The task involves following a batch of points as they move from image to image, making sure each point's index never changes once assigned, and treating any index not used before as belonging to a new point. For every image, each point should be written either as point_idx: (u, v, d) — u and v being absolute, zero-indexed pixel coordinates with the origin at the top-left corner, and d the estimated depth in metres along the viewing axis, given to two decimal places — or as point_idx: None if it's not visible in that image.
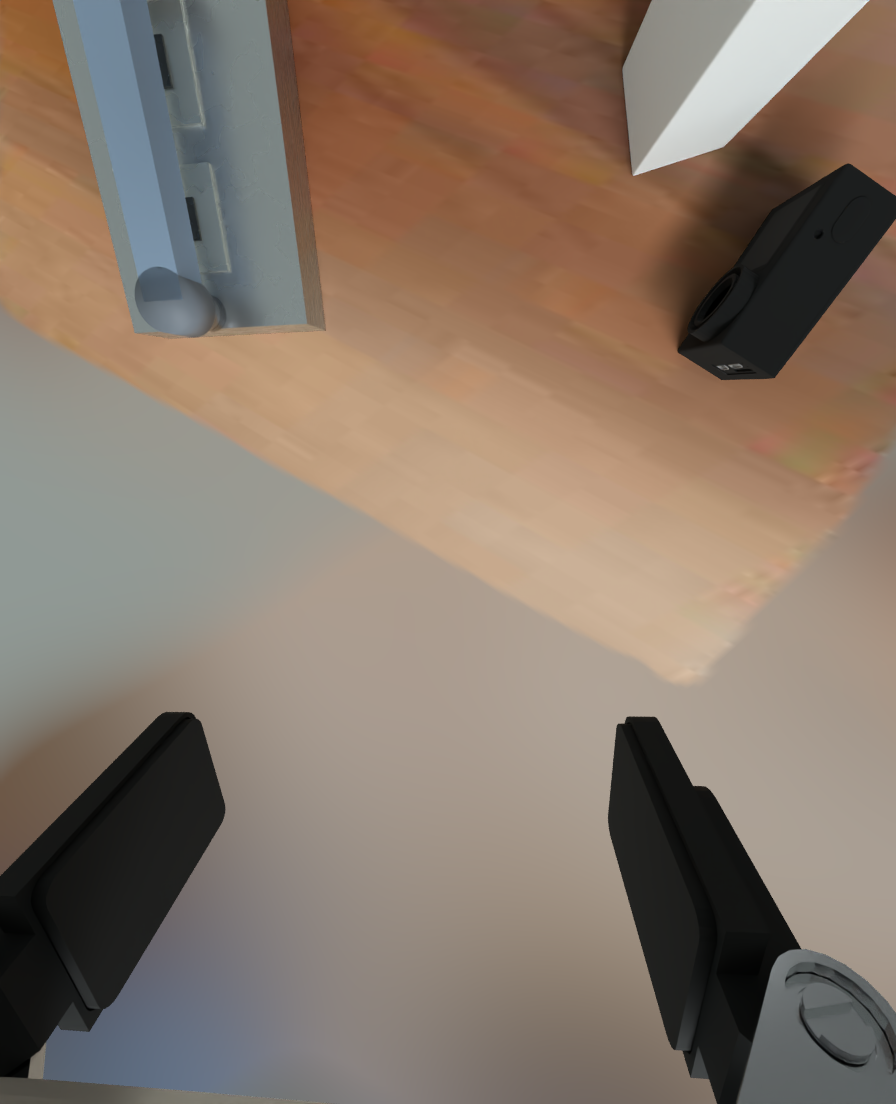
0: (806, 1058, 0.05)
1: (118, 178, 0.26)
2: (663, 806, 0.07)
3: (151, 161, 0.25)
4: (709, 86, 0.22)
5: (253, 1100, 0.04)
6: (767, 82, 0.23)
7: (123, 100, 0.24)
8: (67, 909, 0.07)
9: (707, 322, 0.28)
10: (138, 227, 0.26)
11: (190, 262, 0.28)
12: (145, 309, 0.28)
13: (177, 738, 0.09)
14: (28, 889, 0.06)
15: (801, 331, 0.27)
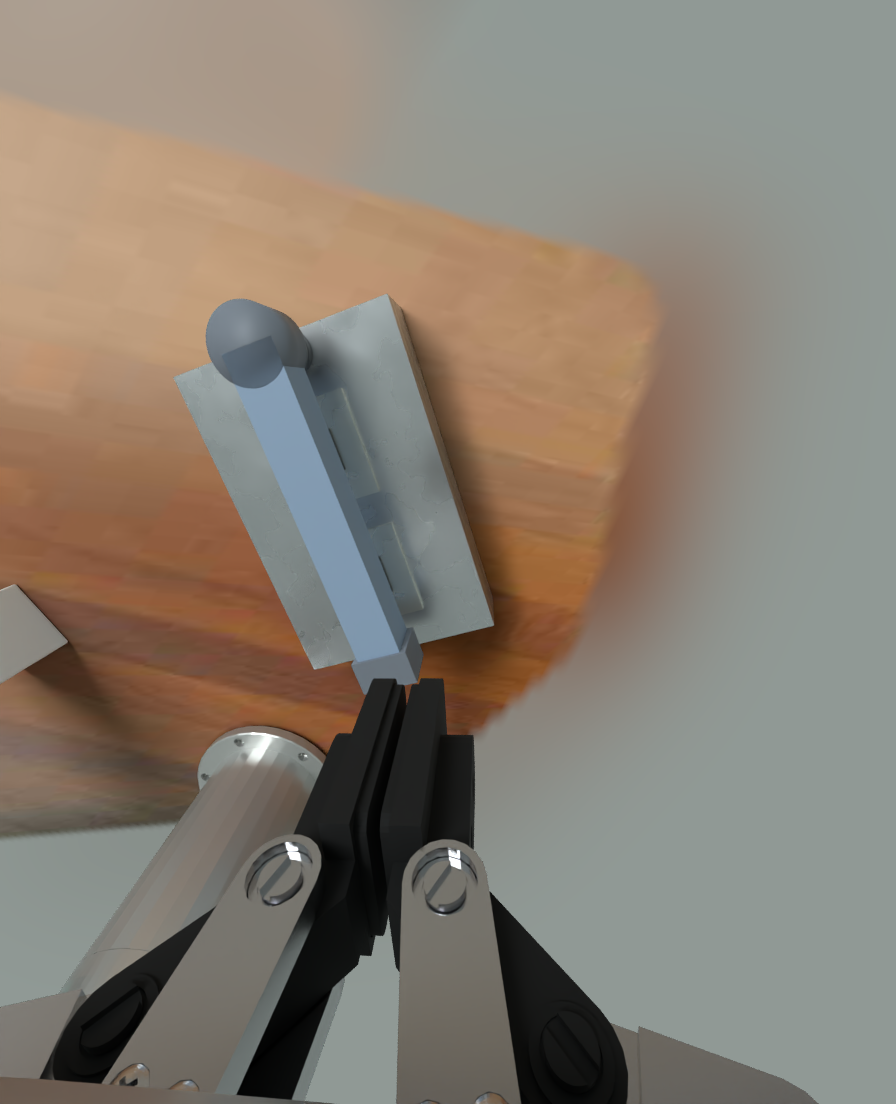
0: (432, 931, 0.06)
1: (322, 472, 0.22)
2: (404, 743, 0.09)
3: (286, 498, 0.22)
4: None
5: (253, 1098, 0.04)
6: None
7: (325, 543, 0.23)
8: (371, 841, 0.08)
9: None
10: (291, 426, 0.21)
11: None
12: (267, 325, 0.19)
13: (397, 700, 0.10)
14: (351, 820, 0.07)
15: None
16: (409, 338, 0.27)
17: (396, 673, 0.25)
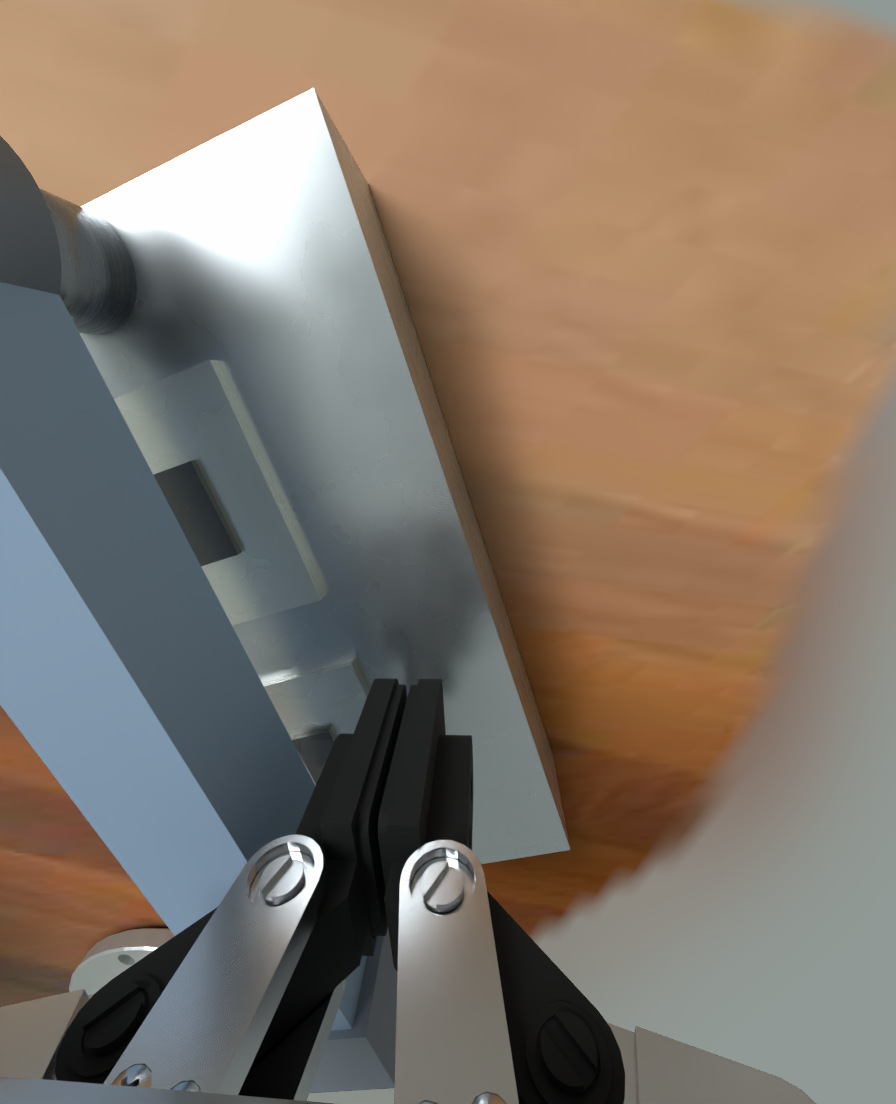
0: (430, 932, 0.06)
1: (88, 623, 0.07)
2: (402, 744, 0.09)
3: None
4: None
5: (254, 1098, 0.04)
6: None
7: (130, 804, 0.08)
8: (373, 841, 0.08)
9: None
10: None
11: None
12: None
13: (398, 700, 0.10)
14: (353, 820, 0.07)
15: None
16: (387, 251, 0.12)
17: (344, 1069, 0.10)
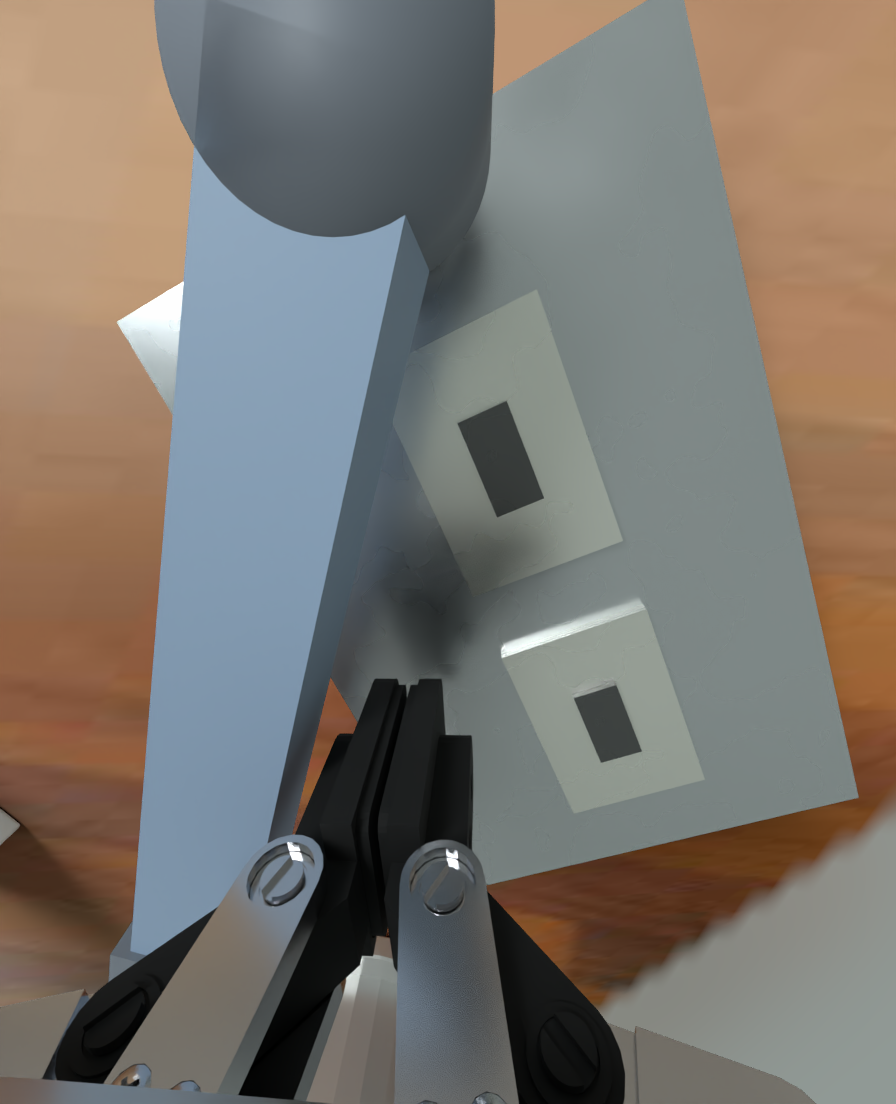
0: (430, 932, 0.06)
1: (312, 581, 0.07)
2: (403, 744, 0.09)
3: (166, 576, 0.07)
4: None
5: (254, 1098, 0.04)
6: None
7: (205, 728, 0.08)
8: (373, 841, 0.08)
9: None
10: (305, 413, 0.06)
11: None
12: (450, 24, 0.05)
13: (398, 700, 0.10)
14: (353, 820, 0.07)
15: None
16: None
17: None
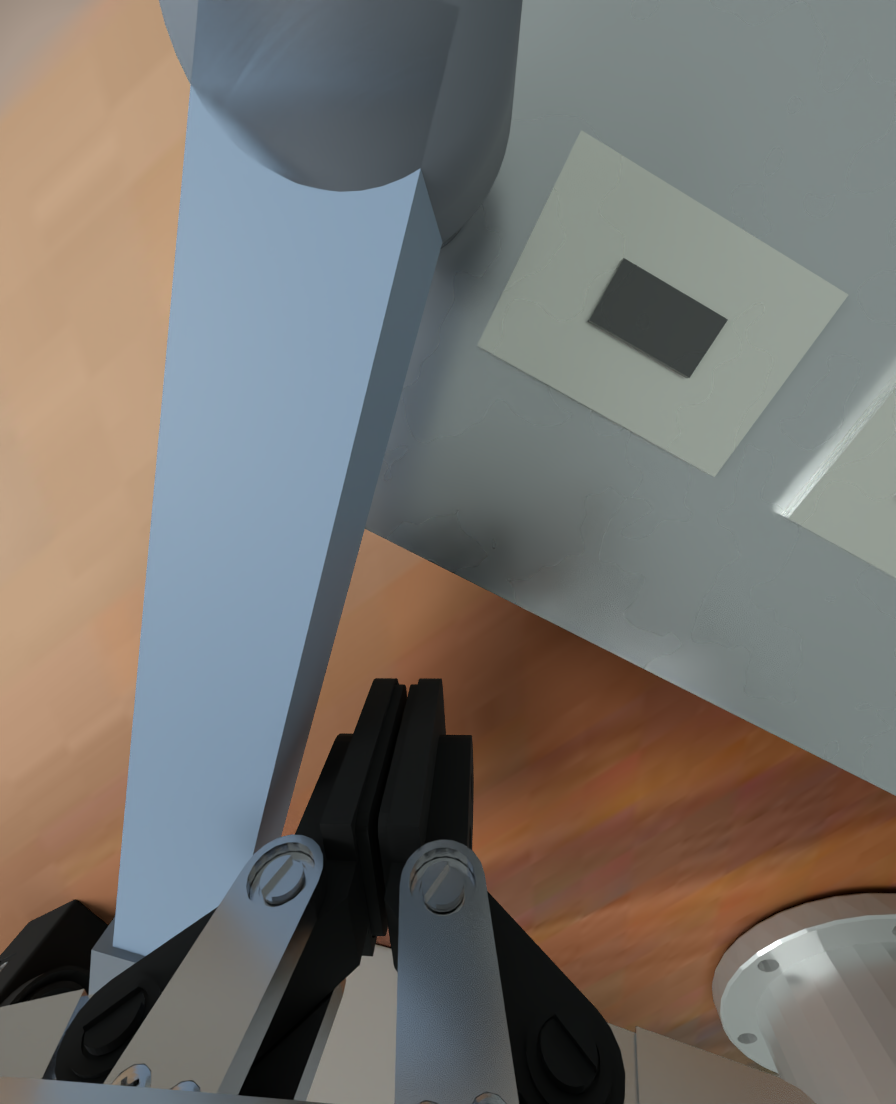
0: (430, 932, 0.06)
1: (310, 568, 0.06)
2: (403, 744, 0.09)
3: (155, 558, 0.07)
4: None
5: (253, 1100, 0.04)
6: None
7: (193, 719, 0.08)
8: (373, 841, 0.08)
9: None
10: (305, 386, 0.06)
11: None
12: None
13: (398, 700, 0.10)
14: (353, 820, 0.07)
15: None
16: None
17: None
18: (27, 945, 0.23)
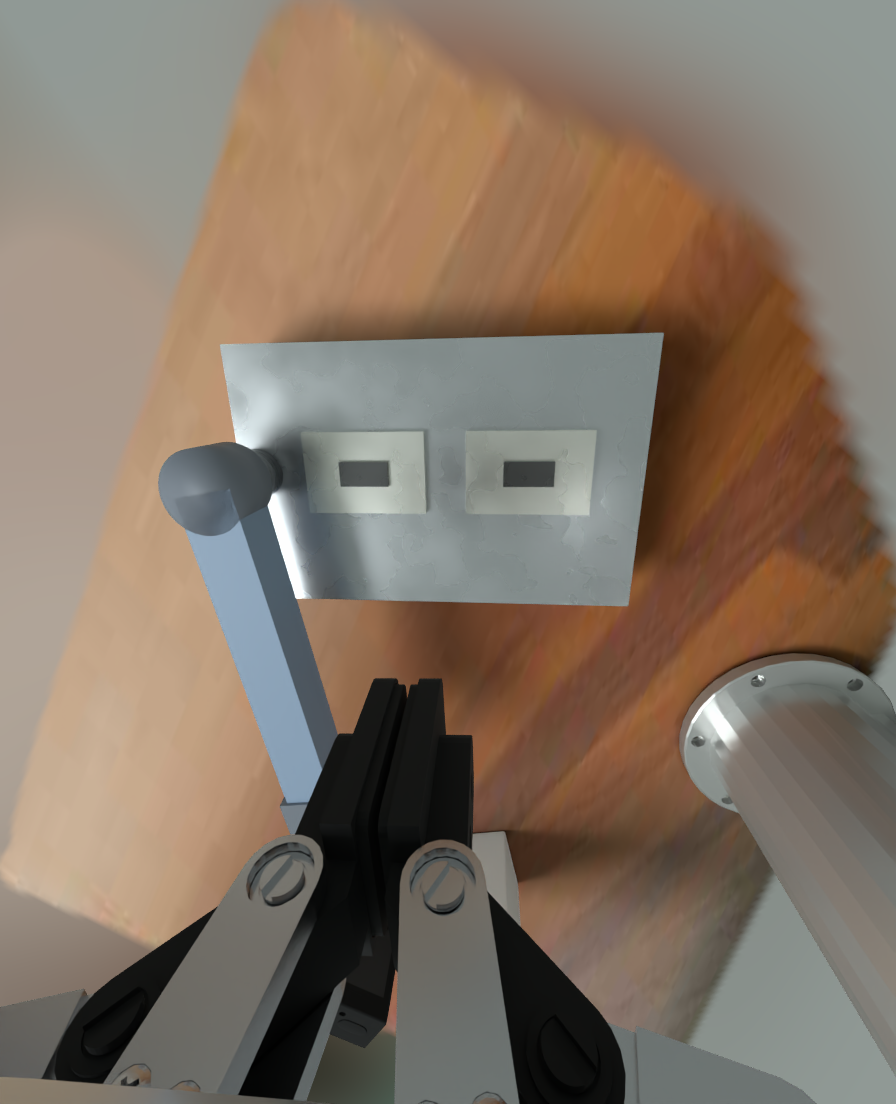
0: (431, 932, 0.06)
1: (270, 625, 0.20)
2: (403, 744, 0.09)
3: (229, 643, 0.21)
4: None
5: (253, 1100, 0.04)
6: None
7: (265, 690, 0.21)
8: (373, 841, 0.08)
9: None
10: (242, 578, 0.19)
11: None
12: (227, 478, 0.18)
13: (398, 700, 0.10)
14: (352, 820, 0.07)
15: None
16: None
17: None
18: None
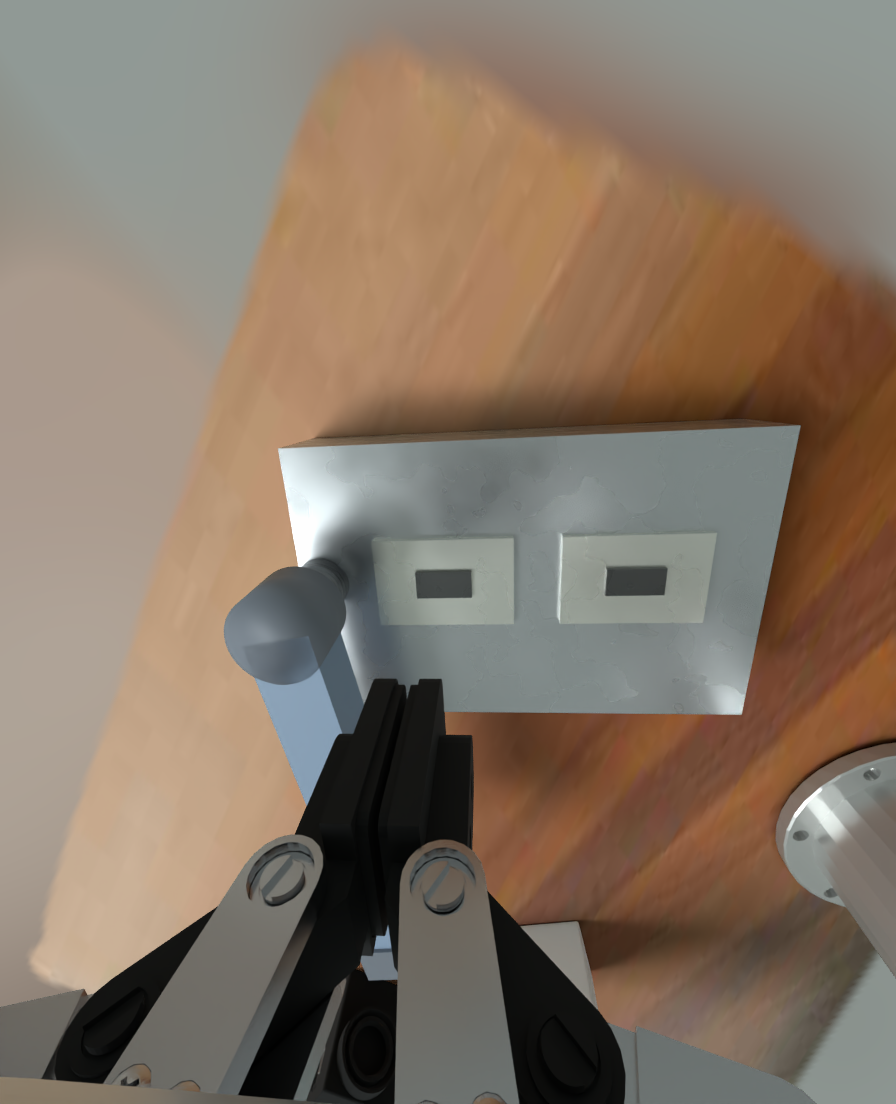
0: (430, 932, 0.06)
1: None
2: (403, 743, 0.09)
3: (303, 792, 0.18)
4: None
5: (253, 1100, 0.04)
6: None
7: None
8: (373, 841, 0.08)
9: (344, 1067, 0.31)
10: (320, 727, 0.17)
11: None
12: (305, 625, 0.15)
13: (398, 700, 0.10)
14: (352, 820, 0.07)
15: None
16: (346, 437, 0.21)
17: None
18: None
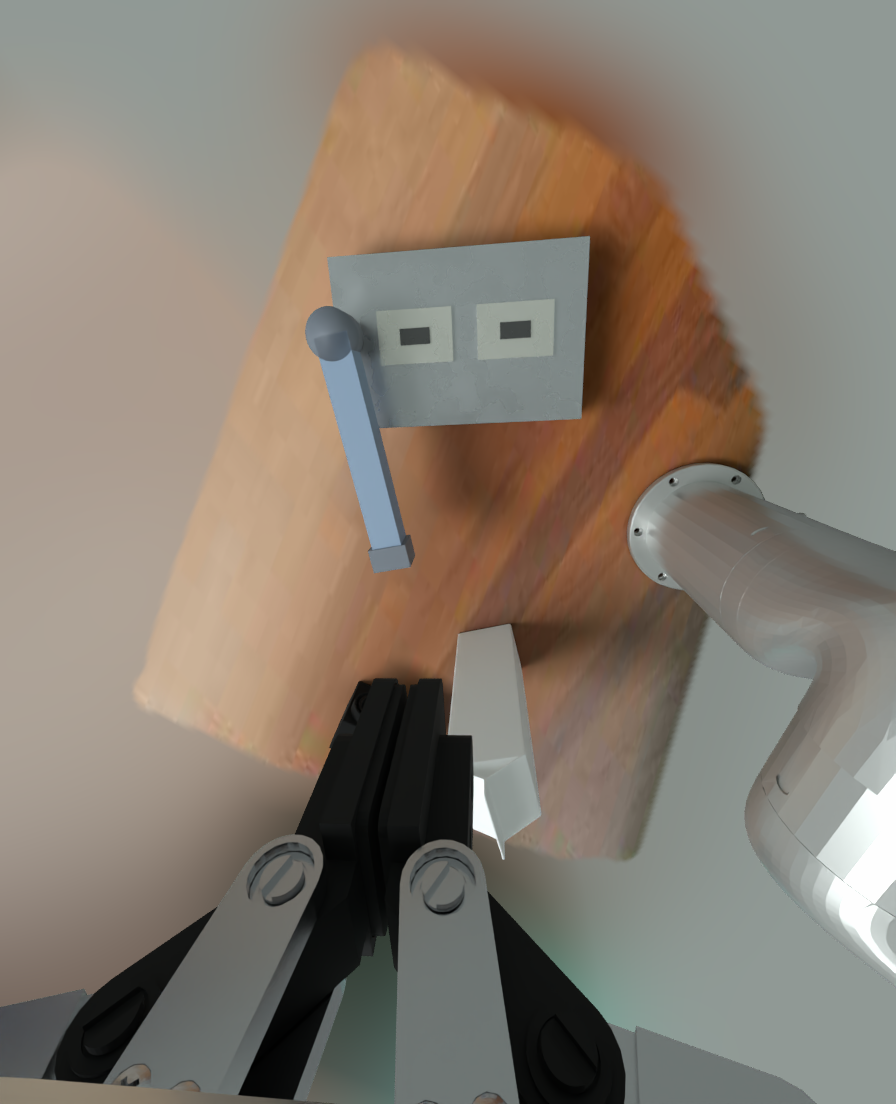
0: (431, 932, 0.06)
1: (366, 419, 0.34)
2: (403, 743, 0.09)
3: (341, 433, 0.35)
4: None
5: (254, 1098, 0.04)
6: None
7: (361, 465, 0.35)
8: (373, 841, 0.08)
9: (356, 709, 0.48)
10: (351, 387, 0.34)
11: None
12: (345, 323, 0.32)
13: (398, 700, 0.10)
14: (352, 820, 0.07)
15: None
16: None
17: (397, 559, 0.38)
18: (350, 699, 0.52)
